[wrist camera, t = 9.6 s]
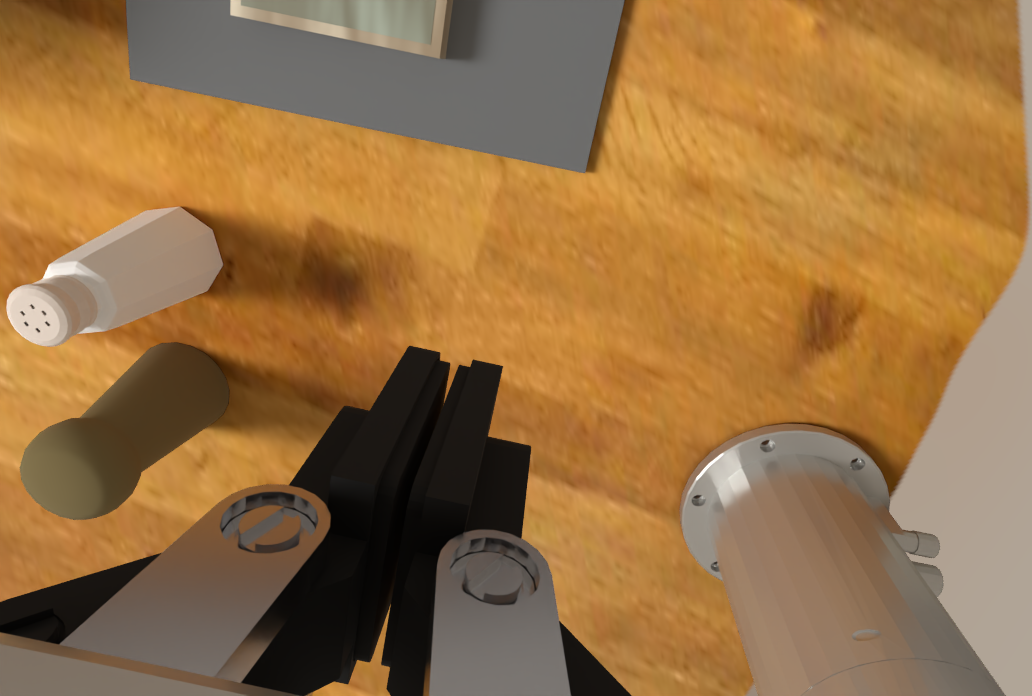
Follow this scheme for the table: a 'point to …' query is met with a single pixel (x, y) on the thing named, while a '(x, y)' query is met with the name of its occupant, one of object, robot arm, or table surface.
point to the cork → (124, 432)
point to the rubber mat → (402, 72)
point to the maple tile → (361, 20)
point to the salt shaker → (118, 277)
